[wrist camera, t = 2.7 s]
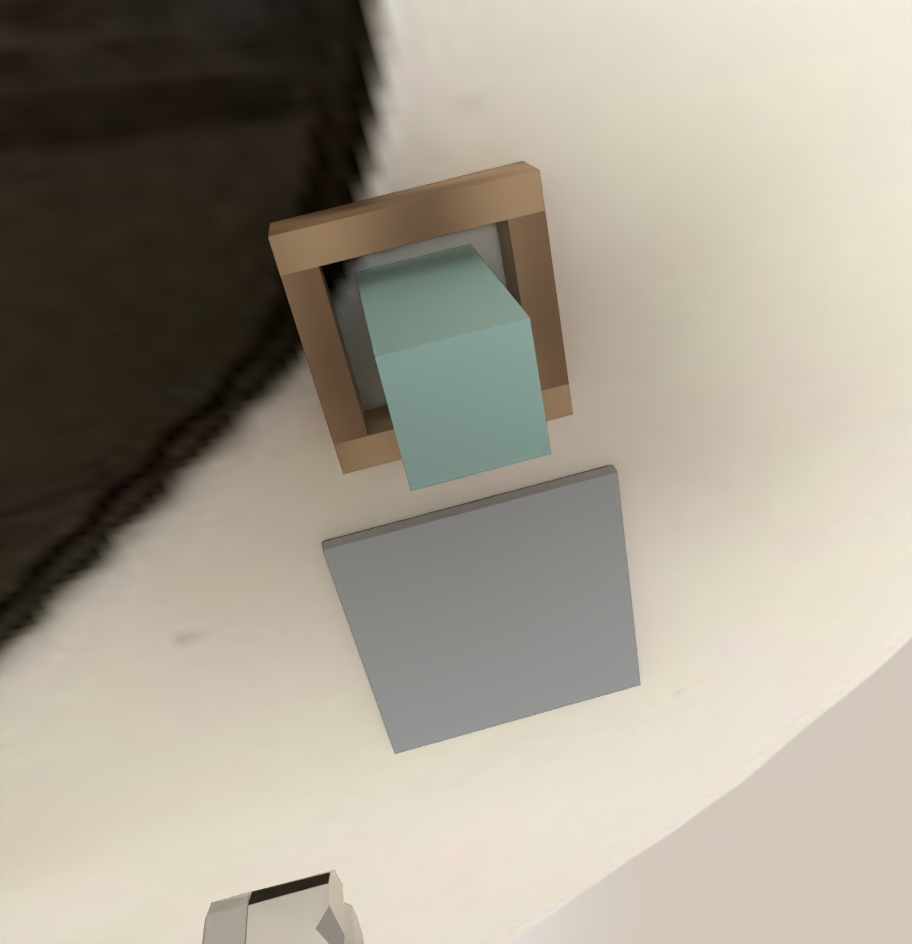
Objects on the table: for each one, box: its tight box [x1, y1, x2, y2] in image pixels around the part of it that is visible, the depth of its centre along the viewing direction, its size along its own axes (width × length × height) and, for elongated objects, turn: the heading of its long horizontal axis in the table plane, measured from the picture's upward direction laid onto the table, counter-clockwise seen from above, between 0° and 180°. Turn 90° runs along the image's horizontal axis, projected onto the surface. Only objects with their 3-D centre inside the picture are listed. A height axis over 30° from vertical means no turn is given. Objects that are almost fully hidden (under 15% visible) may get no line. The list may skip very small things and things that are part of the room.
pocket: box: [268, 161, 573, 474], centre depth 27 cm, size 8×8×2 cm
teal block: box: [355, 244, 551, 491], centre depth 24 cm, size 4×4×8 cm
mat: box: [322, 465, 640, 754], centre depth 34 cm, size 12×12×1 cm
